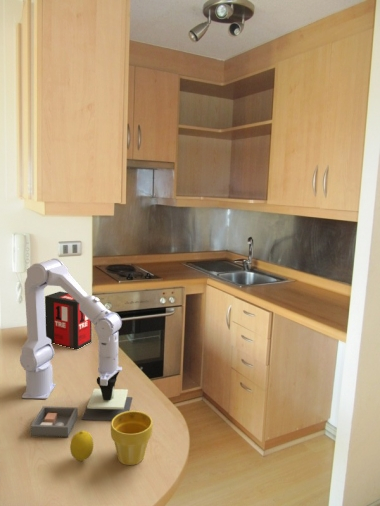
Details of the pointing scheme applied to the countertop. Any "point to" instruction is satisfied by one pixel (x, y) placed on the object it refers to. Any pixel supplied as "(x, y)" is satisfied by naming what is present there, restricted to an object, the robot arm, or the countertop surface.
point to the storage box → (54, 422)
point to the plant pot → (131, 435)
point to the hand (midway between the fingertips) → (108, 396)
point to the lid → (115, 402)
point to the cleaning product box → (66, 321)
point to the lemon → (81, 445)
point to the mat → (105, 412)
